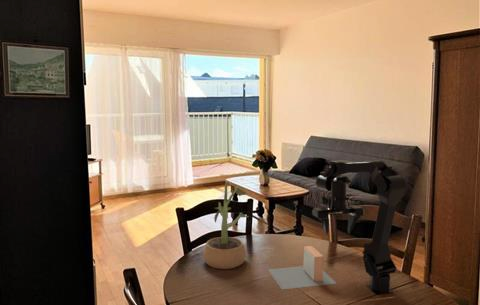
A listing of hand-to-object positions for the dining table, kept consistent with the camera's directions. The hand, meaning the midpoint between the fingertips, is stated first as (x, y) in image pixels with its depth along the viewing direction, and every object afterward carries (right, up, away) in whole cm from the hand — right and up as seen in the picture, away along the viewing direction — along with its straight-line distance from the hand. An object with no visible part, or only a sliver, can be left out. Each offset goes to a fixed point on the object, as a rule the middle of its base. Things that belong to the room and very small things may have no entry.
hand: (337, 233), depth 149 cm
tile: (-11, -13, -7) cm, 19 cm away
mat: (-15, -14, -8) cm, 22 cm away
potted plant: (-43, -12, +8) cm, 45 cm away
